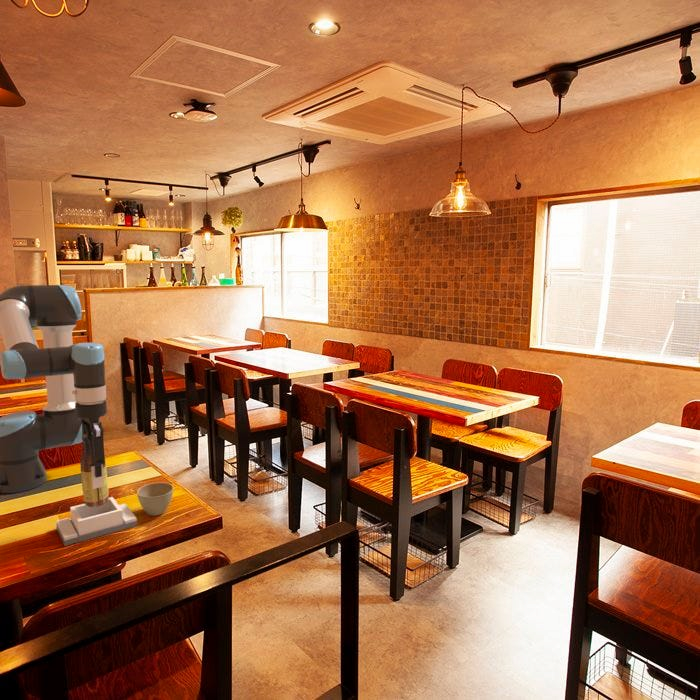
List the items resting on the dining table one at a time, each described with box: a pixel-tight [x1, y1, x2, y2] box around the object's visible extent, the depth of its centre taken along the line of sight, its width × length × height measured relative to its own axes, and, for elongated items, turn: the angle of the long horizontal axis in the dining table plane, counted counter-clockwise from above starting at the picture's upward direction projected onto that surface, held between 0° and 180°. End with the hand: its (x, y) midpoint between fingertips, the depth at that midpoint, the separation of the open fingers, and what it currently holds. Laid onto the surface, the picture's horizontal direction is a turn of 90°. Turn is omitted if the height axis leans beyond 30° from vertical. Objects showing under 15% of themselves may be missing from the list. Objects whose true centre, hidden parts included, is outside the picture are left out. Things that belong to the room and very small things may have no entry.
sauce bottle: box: [79, 434, 110, 507], centre depth 140 cm, size 7×6×20 cm
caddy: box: [55, 496, 138, 547], centre depth 142 cm, size 11×18×6 cm, turn 129°
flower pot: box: [136, 482, 174, 517], centre depth 151 cm, size 10×10×7 cm
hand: (94, 482), depth 140 cm, fingers closed on sauce bottle, 6 cm apart
